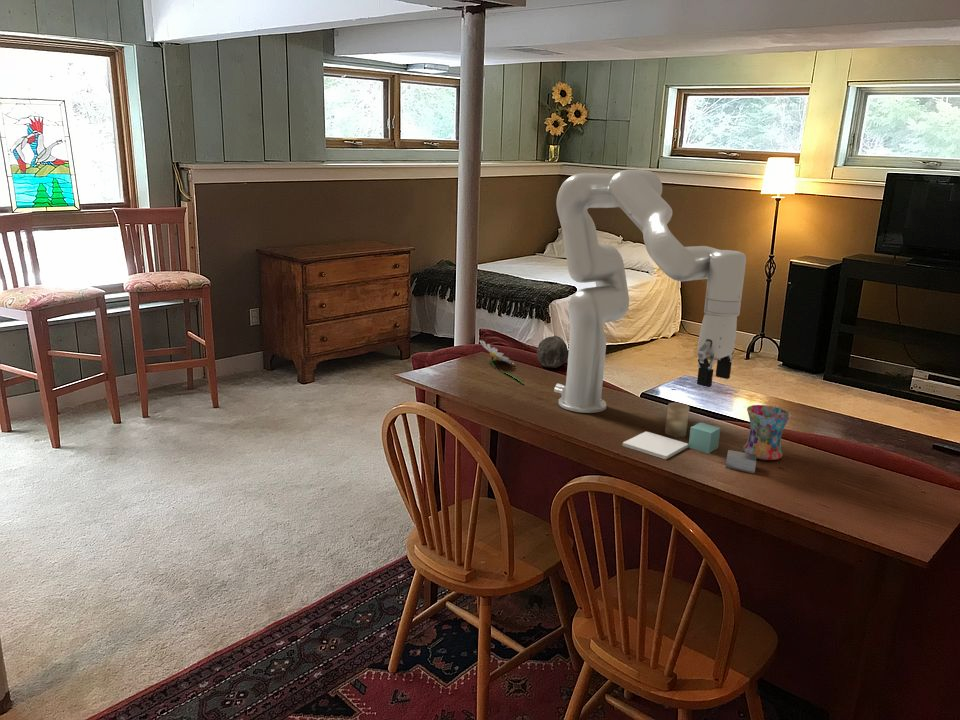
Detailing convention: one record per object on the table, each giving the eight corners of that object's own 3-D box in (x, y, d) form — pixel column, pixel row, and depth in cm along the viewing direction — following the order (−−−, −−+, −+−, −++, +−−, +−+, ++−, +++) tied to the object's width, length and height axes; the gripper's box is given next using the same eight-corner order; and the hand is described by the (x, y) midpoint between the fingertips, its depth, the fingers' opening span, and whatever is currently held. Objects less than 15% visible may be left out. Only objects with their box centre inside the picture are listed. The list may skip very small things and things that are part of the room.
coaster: (622, 445, 174) (622, 442, 174) (645, 434, 182) (646, 431, 182) (665, 459, 168) (666, 456, 167) (688, 447, 176) (688, 443, 175)
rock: (542, 368, 232) (546, 336, 231) (530, 363, 243) (534, 332, 242) (572, 371, 235) (576, 339, 234) (559, 366, 246) (563, 335, 245)
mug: (768, 466, 167) (775, 420, 164) (732, 452, 174) (738, 408, 171) (798, 456, 174) (806, 412, 171) (762, 443, 181) (769, 400, 178)
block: (688, 447, 176) (690, 427, 174) (697, 442, 179) (700, 422, 178) (708, 453, 173) (711, 433, 171) (717, 448, 176) (720, 427, 175)
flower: (513, 366, 214) (476, 331, 239) (502, 382, 214) (466, 345, 240) (545, 387, 220) (506, 350, 246) (534, 402, 221) (496, 364, 246)
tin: (725, 468, 165) (727, 456, 164) (726, 462, 168) (728, 449, 168) (754, 474, 163) (756, 461, 162) (755, 467, 166) (757, 454, 165)
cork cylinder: (661, 432, 184) (664, 405, 182) (670, 428, 188) (674, 401, 186) (680, 438, 181) (683, 410, 179) (689, 433, 185) (693, 406, 183)
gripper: (722, 300, 176) (713, 371, 180) (688, 308, 163) (680, 385, 167) (754, 305, 171) (744, 378, 176) (722, 314, 159) (712, 392, 163)
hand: (713, 381), depth 172 cm, fingers open, 9 cm apart
